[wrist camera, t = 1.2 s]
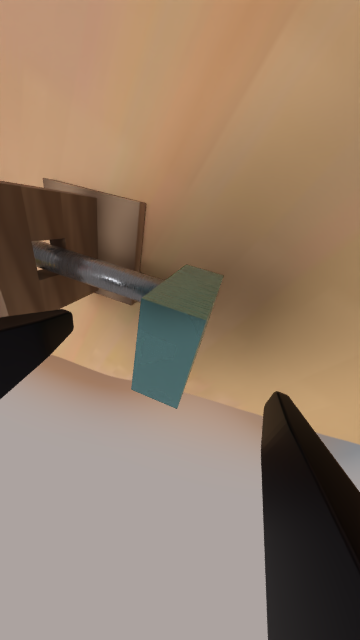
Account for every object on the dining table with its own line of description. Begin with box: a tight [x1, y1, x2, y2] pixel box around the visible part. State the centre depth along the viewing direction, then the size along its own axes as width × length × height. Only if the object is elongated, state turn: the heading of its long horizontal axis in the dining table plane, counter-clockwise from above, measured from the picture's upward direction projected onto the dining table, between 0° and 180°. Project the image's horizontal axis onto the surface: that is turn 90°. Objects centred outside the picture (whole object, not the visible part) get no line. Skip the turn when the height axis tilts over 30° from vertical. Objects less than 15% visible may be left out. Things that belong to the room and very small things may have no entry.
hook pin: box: [32, 241, 224, 409], centre depth 12 cm, size 18×5×7 cm, turn 77°
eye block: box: [0, 178, 146, 317], centre depth 16 cm, size 10×10×10 cm
